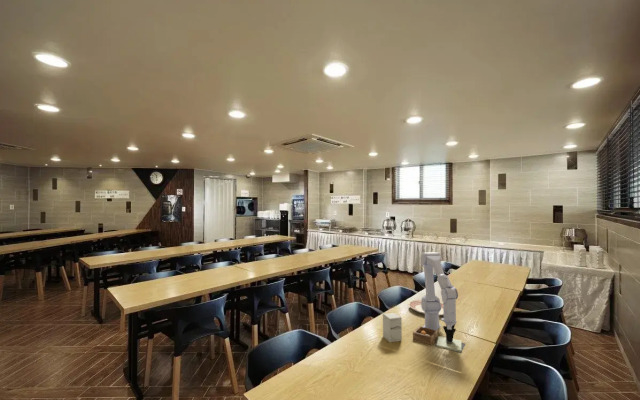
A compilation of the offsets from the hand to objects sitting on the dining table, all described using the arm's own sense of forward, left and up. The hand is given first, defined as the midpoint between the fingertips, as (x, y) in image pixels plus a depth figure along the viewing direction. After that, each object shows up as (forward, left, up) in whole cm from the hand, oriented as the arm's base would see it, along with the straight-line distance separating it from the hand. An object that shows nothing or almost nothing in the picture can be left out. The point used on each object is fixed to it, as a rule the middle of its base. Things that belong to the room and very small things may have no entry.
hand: (450, 338), depth 139 cm
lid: (0, 0, -3) cm, 3 cm away
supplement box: (+12, -26, -4) cm, 29 cm away
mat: (0, 0, -4) cm, 4 cm away
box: (+1, -12, -4) cm, 12 cm away
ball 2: (+3, -10, -3) cm, 11 cm away
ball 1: (0, -13, -3) cm, 14 cm away
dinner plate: (-43, -23, -4) cm, 49 cm away
